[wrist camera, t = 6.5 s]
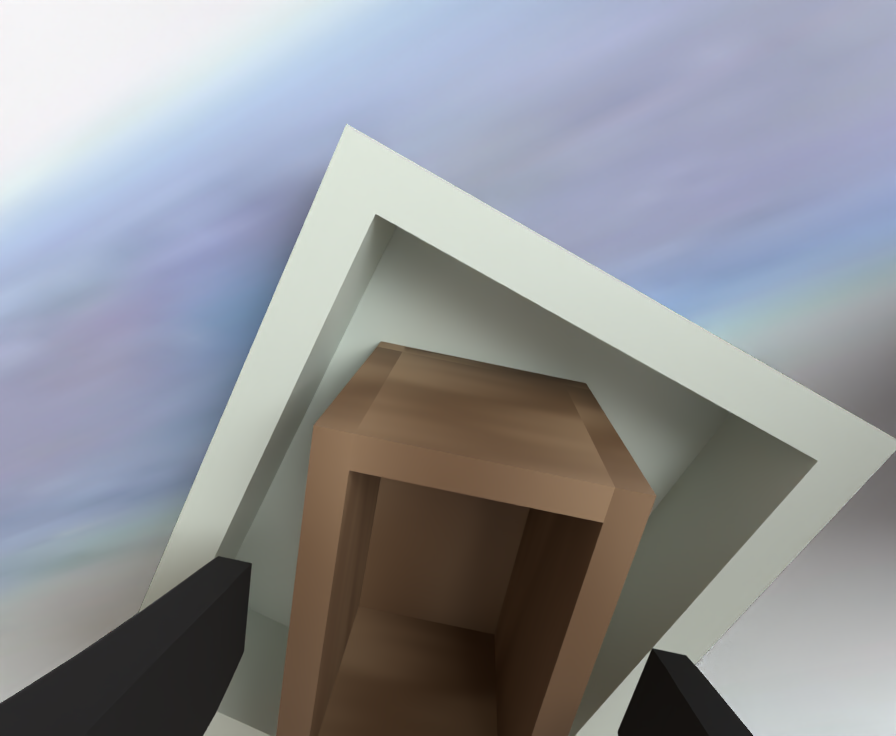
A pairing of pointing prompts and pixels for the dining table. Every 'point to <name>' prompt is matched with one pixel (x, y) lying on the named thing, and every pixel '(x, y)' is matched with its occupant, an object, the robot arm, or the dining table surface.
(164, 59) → the dining table surface
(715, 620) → the white shallow tray
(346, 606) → the small crate
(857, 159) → the dining table surface
